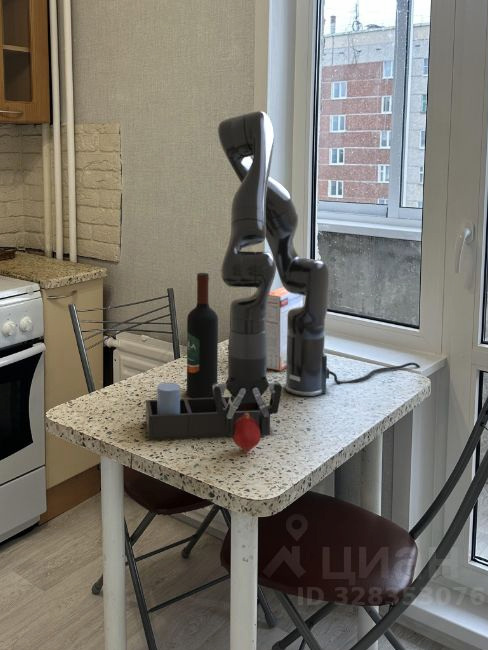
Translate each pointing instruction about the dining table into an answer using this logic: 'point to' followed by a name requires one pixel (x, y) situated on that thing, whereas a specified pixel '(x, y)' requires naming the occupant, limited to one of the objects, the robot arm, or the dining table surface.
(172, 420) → the holder
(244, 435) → the onion
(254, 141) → the robot arm
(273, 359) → the cracker box
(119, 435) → the dining table surface
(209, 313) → the wine bottle
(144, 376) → the dining table surface
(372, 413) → the dining table surface
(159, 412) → the light blue cylinder
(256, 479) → the dining table surface
